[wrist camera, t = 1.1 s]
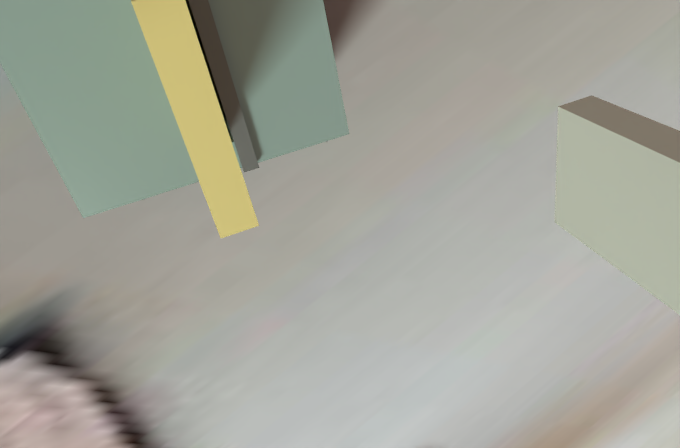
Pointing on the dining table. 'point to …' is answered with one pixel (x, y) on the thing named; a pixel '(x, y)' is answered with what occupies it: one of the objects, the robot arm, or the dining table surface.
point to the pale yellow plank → (196, 111)
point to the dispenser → (150, 97)
